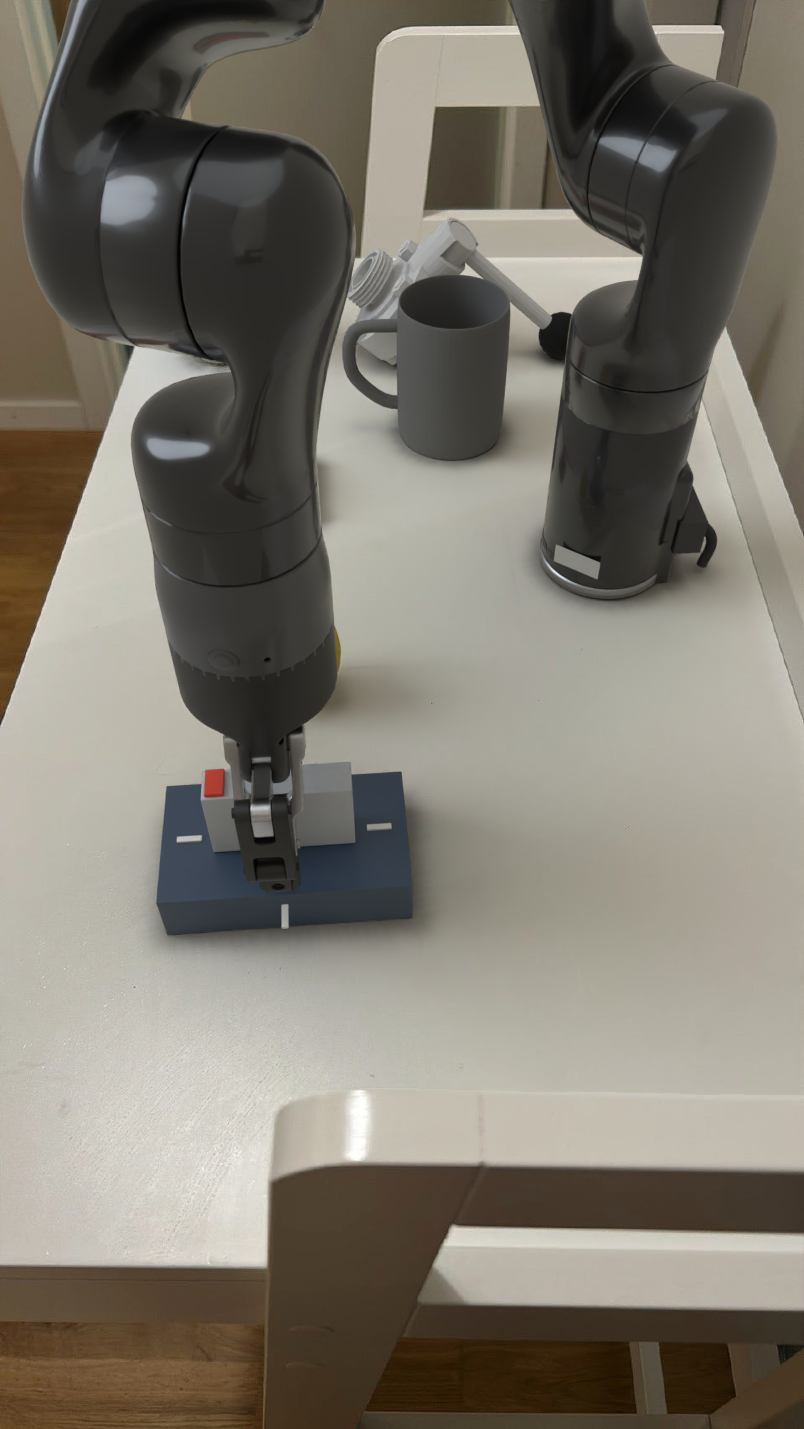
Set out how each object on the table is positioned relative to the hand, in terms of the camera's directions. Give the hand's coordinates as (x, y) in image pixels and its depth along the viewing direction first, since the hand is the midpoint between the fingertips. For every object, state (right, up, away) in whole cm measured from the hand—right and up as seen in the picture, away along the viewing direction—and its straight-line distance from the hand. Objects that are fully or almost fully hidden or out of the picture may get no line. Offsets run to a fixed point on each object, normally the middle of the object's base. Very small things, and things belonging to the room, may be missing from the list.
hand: (280, 823), depth 59 cm
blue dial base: (0, -3, +3) cm, 5 cm away
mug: (+9, +31, +33) cm, 46 cm away
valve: (+13, +41, +42) cm, 60 cm away
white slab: (0, -1, +1) cm, 1 cm away
